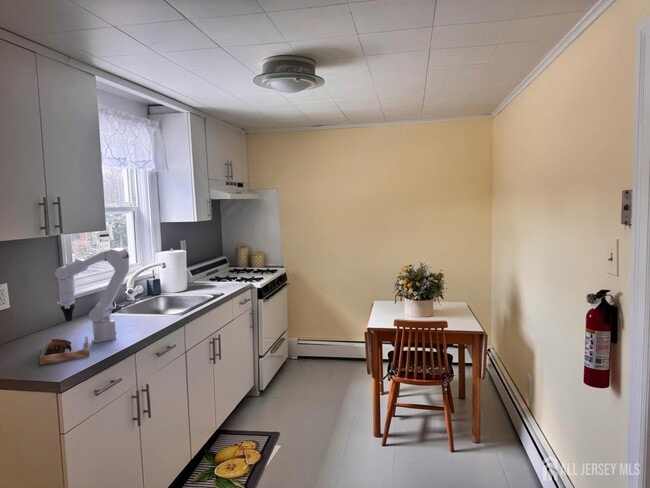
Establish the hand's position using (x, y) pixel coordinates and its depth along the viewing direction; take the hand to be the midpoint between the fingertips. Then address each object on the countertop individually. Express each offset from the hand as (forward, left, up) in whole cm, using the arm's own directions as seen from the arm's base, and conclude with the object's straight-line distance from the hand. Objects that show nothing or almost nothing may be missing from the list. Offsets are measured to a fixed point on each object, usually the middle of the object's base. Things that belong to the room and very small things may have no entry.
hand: (68, 320), depth 201 cm
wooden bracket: (+1, +18, -9) cm, 20 cm away
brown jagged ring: (+4, +22, -10) cm, 25 cm away
